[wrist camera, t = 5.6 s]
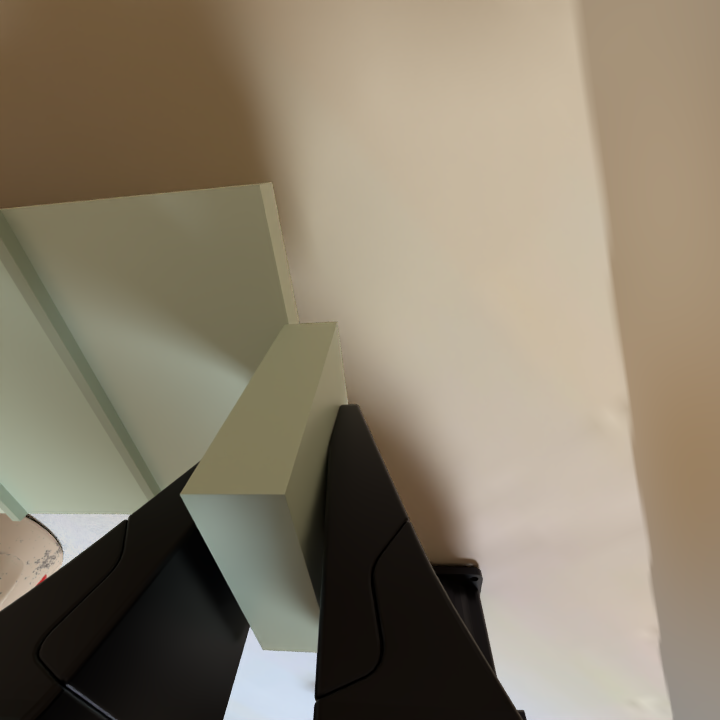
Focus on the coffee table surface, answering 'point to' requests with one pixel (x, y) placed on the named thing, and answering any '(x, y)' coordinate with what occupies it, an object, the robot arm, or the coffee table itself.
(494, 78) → the coffee table surface
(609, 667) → the coffee table surface
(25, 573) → the teacup with lid
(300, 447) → the lid
